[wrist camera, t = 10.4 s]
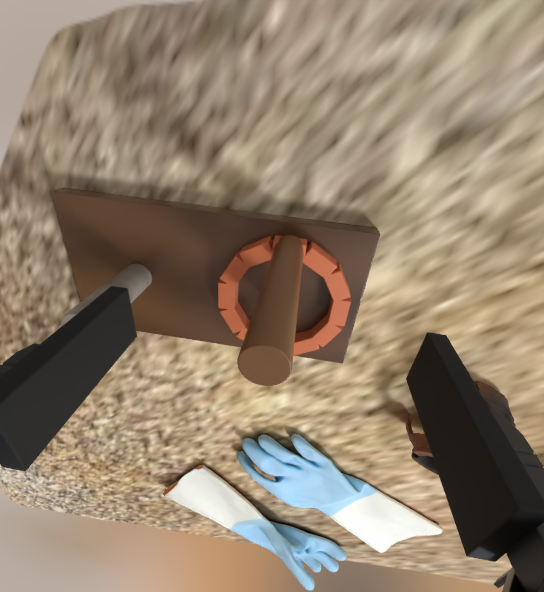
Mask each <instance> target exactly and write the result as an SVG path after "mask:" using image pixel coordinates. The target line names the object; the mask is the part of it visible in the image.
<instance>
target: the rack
mask: <svg viewBox="0 0 544 592" xmlns="http://www.w3.org/2000/svg"><path fill="white" fill-rule="evenodd" d="M50 193H51V196H52V200H53V203H54V207H55V210H56V214H57V218H58V221H59V225H60V228H61V232H62V235H63V239H64V242H65V246H66V249H67V253H68V257H69V260H70V264H71V267H72V271H73V274H74V278H75V281H76V285H77V288H78V292H79V296H80V299H81V303H79V304H78V305H77V306H75V307H74V308H73V309H72V310H70V311H69V312H68V313H66V314H65V315H64V316H63V317H62V319H61V325H62V326H63V325H64V324H65V323H67V322H68V321H69V320H70V319H72V318H73V317H74V316H75V315H76V314H78V313H79V312H80V311H81V310H83V309H84V308H85V307H86V306H87V305H89V304H90V303H91V302H92V301H94V300H95V299H96V298H97V297H98V296H100V295H101V294H102V293H103V292H105V291H106V290H107V289H108V288H109V287H111V286H117V287H123V288H128V291H129V297H130V302H131V308H132V313H133V318H134V324H135V329H136V331H142V332H148V333H154V334H161V335H167V336H173V337H180V338H186V339H192V340H199V341H205V342H211V343H218V344H224V345H230V346H237V347H242V344H243V340H241V339H240V338H238V337H236V335H237V332H235V333H233V332H232V331H231V329H230V327H229V326H228V324H227V323H226V321H225V319H224V318H223V316H222V315H221V313H220V310H221V308H218V282H219V281H220V277H221V275H222V274H223V272H224V270H225V269H226V268H227V266H228V265H229V263H230V262H231V260H232V259H233V257H234V256H235V255H236V253H237V252H238V250H240V251H241V249H242V248H243V247H244V246H246V245H249V244H251V243H254V242H256V241H259V240H261V239H263V238H266V237H268V236H271V238H272V240H274V238H275V235H278V236H285V235H293V236H296V237H298V238H301V239H307V246H308V245H309V244H310V243H311V242H314V243H315V244H316V245H318V246H319V247H320V248H322V249H323V250H324V251H326V252H327V253H328V254H330V255H331V256H332V257H334V258H335V259H336V260H337V264H340V266H341V268H342V271H343V274H344V276H345V279H346V281H347V284H348V287H349V290H350V296H351V297H350V300H351V304H350V307H349V311H348V315H347V319H346V322H345V326H342V331H340V332H339V333H338V334H337V335H336V336H335V337H334V338H333V339H332V340H330V341H329V342H328V343H327V344H326V345H325V346H324V347H322V346H320V345H319V349H318V350H314V351H310V352H306V353H302V354H298V355H295V356H300V357H306V358H312V359H319V360H325V361H331V362H338V363H343V361H344V358H345V354H346V351H347V347H348V344H349V340H350V337H351V333H352V330H353V327H354V323H355V320H356V316H357V313H358V309H359V306H360V302H361V299H362V295H363V292H364V289H365V285H366V282H367V278H368V275H369V271H370V268H371V264H372V261H373V257H374V254H375V250H376V247H377V244H378V240H379V237H380V233H379V231H378V229H377V228H373V227H365V226H357V225H349V224H342V223H334V222H326V221H318V220H310V219H302V218H295V217H287V216H279V215H271V214H263V213H256V212H248V211H240V210H232V209H224V208H217V207H209V206H201V205H193V204H185V203H178V202H170V201H162V200H154V199H146V198H139V197H131V196H123V195H115V194H107V193H100V192H92V191H84V190H76V189H68V188H61V189H57V190H54V191H50ZM269 263H270V260H268V261H265V262H263V263H260V264H257V265H255V266H252V267H250V268H249V269H248V270H247V271H246V273H245V274H244V275H243V277H242V278H241V279H240V281H239V282H238V302H239V304H240V306H241V307H242V309H243V311H244V312H245V314H246V316H247V318H248V319H249V320H251V317H252V314H253V311H254V308H255V305H256V302H257V299H258V296H259V293H260V290H261V287H262V284H263V281H264V278H265V275H266V272H267V269H268V266H269ZM330 301H331V294H330V292H329V289H328V287H327V285H326V282H325V280H324V278H323V277H322V276H320V275H319V274H318V273H316V272H315V271H313V270H312V269H311V268H309V267H308V266H307V265H305V264H304V263H303V264H302V273H301V283H300V293H299V303H298V313H297V323H296V333H299V332H303V331H306V330H310V329H312V328H313V327H314V326H316V325H317V324H318V323H319V322H320V321H321V320H322V319H323V318H324V317H325V316H326V315H327V314H328V310H329V306H330ZM296 333H295V334H296ZM293 356H294V355H293Z"/></svg>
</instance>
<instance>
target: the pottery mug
mask: <svg viewBox="0 0 544 592" xmlns="http://www.w3.org/2000/svg"><path fill="white" fill-rule="evenodd" d="M475 385H476V387H477V388H478V390H479V392H480V393H481V395H482V397H483V398H484V400H485V402H486V403H487V405H488V407H489V409H490V410H491V412H492V414H493V415H494V417H495V418H498V419H504V420H508V421H509V422H510V423H511V424H512V425H513V426H514V427H515V424H514V418H513V417H512V414H511V412H510V409H509V405H508V401H507V399H506V398H505V397H504V395H502V394H501V393H500V392H499V391H497V390H496V389H494V388H492V387H489V386H488V385H485V384H483V383H480V382H477V383H476V384H475ZM411 423H412V417H411V415H410V414H409V413H407V414H406V424H407V425H406V430H407V432H408V436H409V438H410V441H411V442H412V444H413V446H414V447H413V449H412V451H413V453H412V458H413V459H414V460H415V461H416V462H418V463H419V464H420V465H422V466H423V467H425V468H427V469H428V470H430V471H432V472H434V473H436V474H438V471H437V468H436V465H435V462H434V459H433V456H432V453H431V450H430V447H429V445H428V442H427V439H426V436H425V434H420V433H413V431H412V427H411ZM438 475H439V474H438Z"/></svg>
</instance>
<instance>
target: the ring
mask: <svg viewBox="0 0 544 592" xmlns="http://www.w3.org/2000/svg"><path fill="white" fill-rule="evenodd" d="M268 260H270V263H269V266H268V269H267V272H266V275H265V278H264V281H263V284H262V287H261V290H260V293H259V296H258V299H257V302H256V305H255V308H254V311H253V314H252V317H251V320H249V319H248V318H247V316H246V314H245V312H244V311H243V309H242V307H241V306H240V304H239V302H238V282H239V281H240V279H241V278H242V277H243V275H244V274H245V273H246V271H247V270H248V269H249V268H250V267H252V266H255V265H257V264H260V263H263V262H265V261H268ZM303 263H304V264H305V265H307V266H308V267H309V268H311V269H312V270H313V271H315V272H316V273H318V274H319V275H320V276H322V277H323V278H324V280H325V282H326V285H327V287H328V289H329V292H330V294H331V301H330V306H329V310H328V314H327V315H326V316H325V317H324V318H323V319H322V320H321V321H320V322H319V323H318V324H317V325H316V326H314V327H313V328H312V329H310V330H306V331H303V332H299V333H296V323H297V313H298V303H299V293H300V283H301V273H302V264H303ZM350 297H351V296H350V290H349V287H348V284H347V281H346V279H345V276H344V274H343V271H342V268H341V266H340V264H337V260H336V259H335V258H334V257H332V256H331V255H330V254H328V253H327V252H326V251H324V250H323V249H322V248H320V247H319V246H318V245H316V244H315V243H314V242H311V243H310V244H309V245H308V246H307V239H301V238H298V237H296V236H293V235H285V236H278V235H275V238H274V240H272V238H271V236H268V237H266V238H263V239H261V240H259V241H256V242H254V243H251V244H249V245H246V246H244V247H243V248H242V249H241V251H240V250H238V252H237V253H236V255H235V256H234V257H233V259H232V260H231V262H230V263H229V265H228V266H227V268H226V269H225V270H224V272H223V274H222V275H221V277H220V281H219V282H218V308H221V310H220V313H221V315H222V316H223V318H224V319H225V321H226V323H227V324H228V326H229V327H230V329H231V331H232V332H233V333H235V332H237V335H236V337H238V338H240V339H241V340H243V344H242V347H241V350H240V353H239V356H238V360H237V363H238V368H239V370H240V372H241V373H242V375H243V376H244V377H245V378H246V379H248V380H249V381H251V382H253V383H255V384H259V385H264V386H272V385H277V384H280V383H282V382H284V381H285V380H286V379H287V378H288V377H289V375H290V374H291V371H292V362H293V355H294V356H295V355H298V354H302V353H306V352H310V351H314V350H318V349H319V345H320V346H322V347H324V346H325V345H326V344H327V343H328V342H329V341H330V340H332V339H333V338H334V337H335V336H336V335H337V334H338V333H339V332H340V331H342V326H345V322H346V319H347V315H348V311H349V307H350V304H351V300H350ZM295 333H296V334H295Z"/></svg>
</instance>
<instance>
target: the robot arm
mask: <svg viewBox="0 0 544 592" xmlns="http://www.w3.org/2000/svg"><path fill="white" fill-rule="evenodd" d="M136 337H137V334H136V329H135V324H134V318H133V313H132V308H131V302H130V297H129V291H128V288H123V287H117V286H111V287H109V288H108V289H107V290H106V291H105V292H103V293H102V294H101V295H100V296H98V297H97V298H96V299H95V300H94V301H92V302H91V303H90V304H89V305H87V306H86V307H85V308H84V309H83V310H81V311H80V312H79V313H78V314H76V315H75V316H74V317H73V318H72V319H70V320H69V321H68V322H67V323H65V324H64V325H63V326H62V327H61V328H59V329H58V330H57V331H56V332H54V333H53V334H52V335H51V336H50V337H48V338H47V339H46V340H45V341H43V342H42V343H41V344H32V345H30V346H28V347H26V348H24V349H22V350H20V351H18V352H16V353H15V354H14V355H13V356H11V357H10V358H9V359H7V360H6V361H5V362H4V363H3V365H0V464H1V466H2V467H6V468H11V469H16V470H21V471H26V470H27V469H28V468H29V467H30V465H31V464H32V463H33V462H34V460H35V459H36V458H37V457H38V456H39V454H40V453H41V452H42V451H43V450H44V448H45V447H46V446H47V445H48V443H49V442H50V441H51V440H52V439H53V437H54V436H55V435H56V434H57V433H58V431H59V430H60V429H61V428H62V426H63V425H64V424H65V423H66V422H67V420H68V419H69V418H70V417H71V416H72V414H73V413H74V412H75V411H76V409H77V408H78V407H79V406H80V405H81V403H82V402H83V401H84V400H85V399H86V397H87V396H88V395H89V394H90V392H91V391H92V390H93V389H94V388H95V386H96V385H97V384H98V383H99V382H100V380H101V379H102V378H103V377H104V375H105V374H106V373H107V372H108V371H109V369H110V368H111V367H112V366H113V365H114V363H115V362H116V361H117V360H118V358H119V357H120V356H121V355H122V354H123V352H124V351H125V350H126V349H127V348H128V346H129V345H130V344H131V343H132V341H133V340H134V339H135V338H136ZM406 380H407V383H408V386H409V389H410V392H411V395H412V398H413V401H414V403H415V406H416V409H417V412H418V415H419V418H420V421H421V424H422V427H423V430H424V433H425V436H426V439H427V442H428V445H429V447H430V450H431V453H432V456H433V459H434V462H435V465H436V468H437V471H438V474H439V477H440V480H441V483H442V486H443V488H444V491H445V494H446V497H447V500H448V503H449V506H450V509H451V512H452V515H453V518H454V521H455V524H456V527H457V529H458V532H459V535H460V538H461V541H462V544H463V547H464V550H465V553H466V556H468V557H473V558H478V559H484V560H489V561H494V562H495V561H497V560H498V559H499V558H500V557H502V556H503V555H504V554H505V553H507V556H508V558H509V560H510V562H511V565H512V567H513V568H511V569H510V570H509V571H507V572H506V573H505V574H503V575H502V576H501V577H499V578H498V579H497V580H496V582H495V583H494V585H495V586H496V587H498V588H499V587H501V586H502V585H504V587H503V591H502V592H544V469H543V468H542V464H541V462H540V461H539V459H538V458H537V456H536V455H534V454H533V452H534V451H533V450H532V448H531V447H530V445H529V444H528V442H527V441H526V439H525V438H524V436H523V435H522V434H521V433H520V432H519V431H518V430H517V429H516V428H515V427H514V426H513V425H512V424H511V423H510V422H509V421H508V420H504V419H498V418H495V417H494V415H493V414H492V412H491V410H490V409H489V407H488V405H487V403H486V402H485V400H484V398H483V397H482V395H481V393H480V392H479V390H478V388H477V387H476V385H475V383H474V382H473V380H472V378H471V376H470V375H469V373H468V371H467V370H466V368H465V366H464V365H463V363H462V361H461V360H460V358H459V356H458V355H457V353H456V351H455V350H454V348H453V346H452V344H451V343H450V341H449V339H448V338H447V336H446V335H441V334H434V333H428V332H427V334H426V336H425V339H424V341H423V343H422V345H421V347H420V350H419V352H418V354H417V356H416V358H415V360H414V363H413V365H412V367H411V369H410V371H409V373H408V376H407V378H406Z"/></svg>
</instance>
